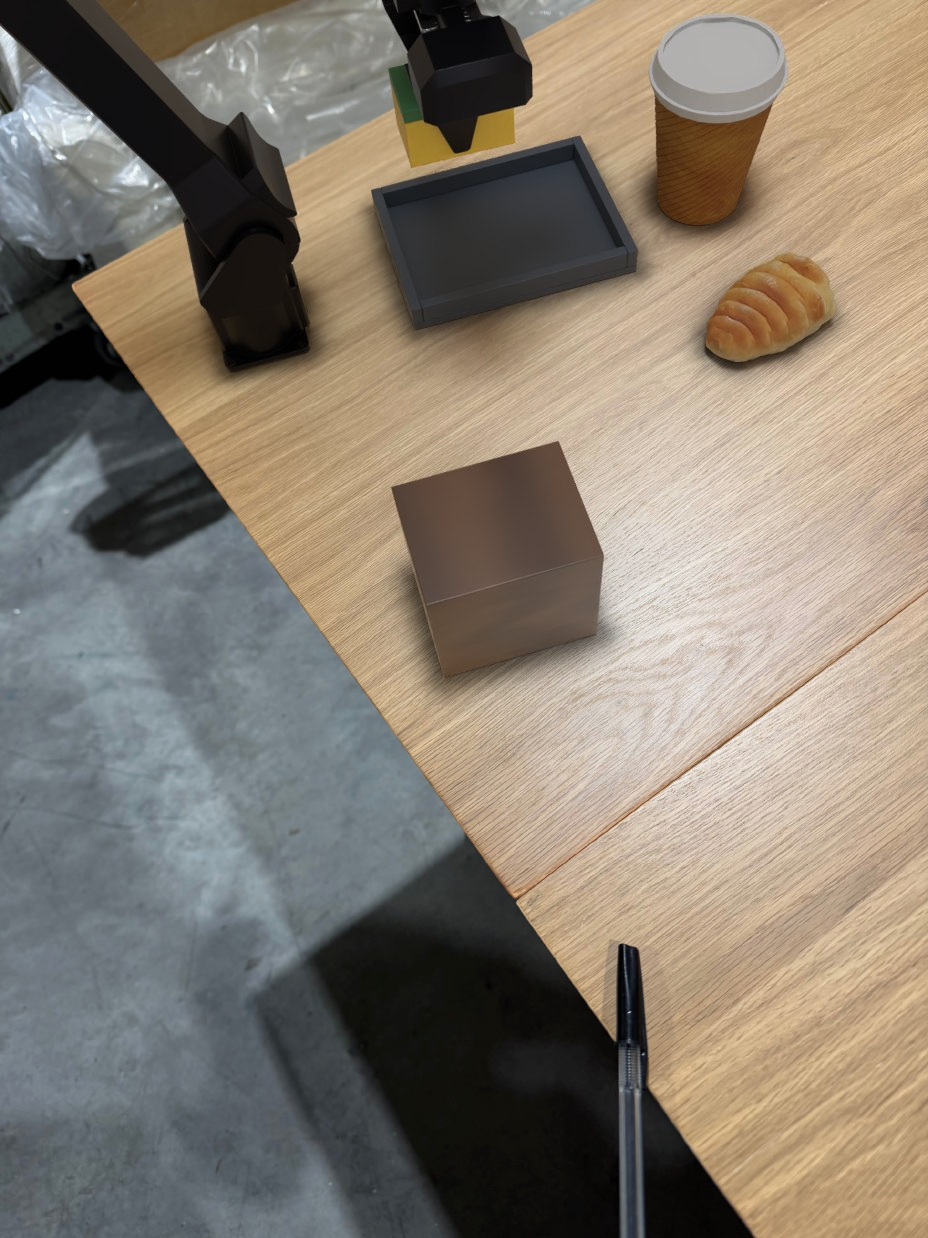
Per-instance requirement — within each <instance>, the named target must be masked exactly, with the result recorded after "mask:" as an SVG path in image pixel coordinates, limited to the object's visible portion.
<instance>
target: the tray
mask: <svg viewBox="0 0 928 1238" xmlns="http://www.w3.org/2000/svg"><path fill="white" fill-rule="evenodd" d="M370 193H371V199H372V203H373V208H374V213H375V216H376V218H377V222H378V225H379V227H380V230H381V233H382V236H383V239H384V242H385V245H386V248H387V251H388V254H389V258H390V260H391V263H392V266H393V270H394V272H395V275H396V278H397V281H398V283H399V284H398V285H399V288H400V290H401V293H402V296H403V299H404V302H405V305H406V308H407V311H408V314H409V317H410V320H411V323H412V326H413V329H414V331H418V330H421V329H425V328H429V327H432V326H436V325H439V324H440V325H441V324H444V323H447V322H451V321H455V320H459V319H462V318H463V319H464V318H466V317H470V316H473V315H477V314H482V313H484V312H489V311H491V310H495V309H496V310H497V309H500V308H503V307H507V306H511V305H514V304H518V303H523V302H525V301H530V300H533V299H537V298H541V297H544V296H548V295H552V294H556V293H559V292H562V291H566V290H570V289H574V288H577V287H581V286H586V285H588V284H592V283H593V284H594V283H597V282H600V281H603V280H608V279H611V278H616V277H618V276H622V275H626V274H630V273H634V272H636V271H637V264H638V262H637V261H638V253H639V249H638V247H637V245H636V243H635V241H634V239H633V237H632V235H631V233H630V231H629V229H628V228H627V225H626V223H625V222H624V219H623V217H622V215H621V213H620V211H619V209H618V207H617V206H616V203H615V201H614V200H613V197H612V196H611V194H610V192H609V190H608V188H607V186H606V183H605V182H604V179H603V178H602V176H601V173H600V172H599V170H598V167H597V165H596V163H595V162H594V160H593V158H592V156H591V154H590V152H589V150H588V148H587V145H586V144H585V142H584V140H583V138H582V136H581V135H576V136H572V137H567V138H563V139H560V140H556V141H552V142H549V143H545V144H541V145H538V146H533V147H530V148H526V149H522V150H518V151H514V152H511V153H506V154H503V155H498V156H495V157H491V158H488V159H484V160H479V161H476V162H471V163H468V164H465V165H460V166H457V167H453V168H449V169H445V170H441V171H436V172H433V173H429V174H426V175H422V176H418V177H414V178H411V179H406V180H404V181H399V182H395V183H392V184H387V185H383V186H381V187H377V188H373V189H370Z"/></svg>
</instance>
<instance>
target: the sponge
mask: <svg viewBox="0 0 928 1238" xmlns="http://www.w3.org/2000/svg"><path fill="white" fill-rule="evenodd" d="M387 70H388V76H389V82H390V89H391V95H392V102H393V108H394V115H395V121H396V126H397V129H398V131H399V135H400V139H401V141H402V144H403V147H404V150H405V153H406V156H407V159H408V162H409V165H410V168H411V169H413V168H414V169H415V168H418V167H422V166H426V165H430V164H431V165H432V164H434V163H439V162H442V161H446V160H447V161H448V160H450V159H454V158H455V159H456V158H459V157H464V156H469V155H472V154H476V153H479V152H484V151H488V150H493V149H497V148H500V147H504V146H509V145H513V144H516V130H515V129H516V128H515V108H511V109H507V110H503V111H499V112H495V113H491V114H486V115H482V116H478V120H477V124H476V128H475V132H474V136H473V141H472V145H471V148H470V150H469V151H466V152H462V153H458V154H455V153H454V152H453V151H452V149H451V148H450V146H449V144H448V143H447V141H446V140H445V138H444V136H443V135H442V133H441V132H440V130H439V128H438V127H437V126H433V125H430V124H427V123H424V120H423V118H422V115H421V112H420V109H419V106H418V103H417V100H416V98H415V95H414V92H413V90H412V87H411V84H410V81H409V78H408V75H407V72H406V69H405V67H404V64H401V65H396V66H392V67H389V68H388V69H387Z"/></svg>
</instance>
